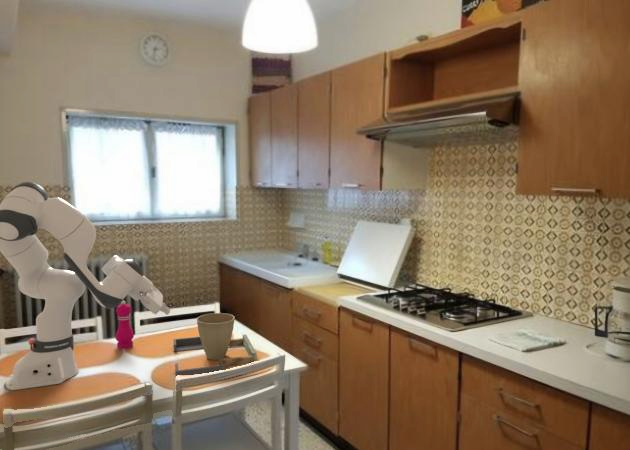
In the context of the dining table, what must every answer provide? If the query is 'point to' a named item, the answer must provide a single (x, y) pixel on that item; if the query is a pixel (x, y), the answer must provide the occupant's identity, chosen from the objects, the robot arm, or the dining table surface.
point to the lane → (241, 360)
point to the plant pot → (215, 333)
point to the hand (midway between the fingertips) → (168, 312)
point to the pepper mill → (124, 327)
